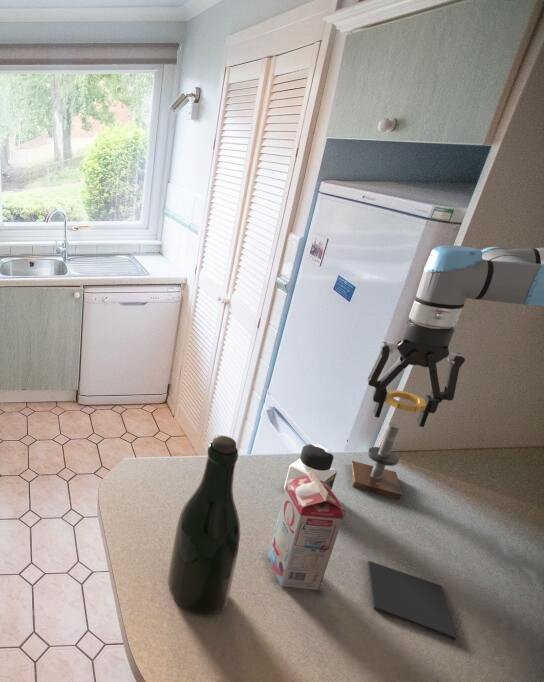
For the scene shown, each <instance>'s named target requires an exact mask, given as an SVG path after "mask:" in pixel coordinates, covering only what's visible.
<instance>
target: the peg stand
mask: <svg viewBox="0 0 544 682" xmlns="http://www.w3.org/2000/svg"><path fill="white" fill-rule="evenodd" d="M399 429H400V425H398V424H396V423H394V422H389V423H388V424H387V427H386V429H385V432H384V435H383V437H382V440H381V444H380V446H372V447H371V446H370V447H369V448H368V449H367V453H366V454H367V456H368V458H369V459H371V460H372V461H374V464H373V465H370V464H366V463H362V462H359V461H355V460H351V463H350V473H351V480H352V481H351V482H352V483H351V484H352V487H353V488H357V489H360V490H364V491H366V492H370V493H374V494H378V495H381V496H385V497H389V498H393V499H395V500H399V501H400V500H401V498H402V495H403V494H402V491H401V487H400V483H399V478H398V475H397V472H396V471H393V470H390V469H386V466H388V467H394V466H397V465H398V464H399V461H400V458H399V456H398V455H397V454H396V453H395V452H393V451H392V448H393V446H394V444H395V441H396V439H397V435H398V432H399Z"/></svg>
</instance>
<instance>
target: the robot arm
mask: <svg viewBox="0 0 544 682" xmlns="http://www.w3.org/2000/svg"><path fill="white" fill-rule="evenodd" d="M482 249H483V250H482ZM482 249H479V248H476V247H472V246H464V245H463V246H462V245H452V244H451V245H449V244H448V245H439V246H436V247H435V248H433V249H432V250H431V252H430V254H429V256H428V258H427V261H426V263H425V266H424V267H423V272H422V276H421V278H420V282H419V285H418V288H417V290H416V291H417V292H416V295H415V297H414V300H413V304H412V306H411V310H410V312H409V315H408V318H409V320H408V321H407V322H406V325H405V328H404V330H403V334H402V336H401V339H400V340H399V341H397V343H388V342H386V341H383V342H381V344H380V353H379V354H378V357H377V359H376V361H375V362H374V365H373V367H372V368H371V371H370V372H369V375H368V377H367V384H368V385H369V386H370V387H373V388H374V391H373V394H372V400H373V403H375V406H374V410H373V414H374V417H375V418H380V417H381V414H382V410H383V408H384V403H385V402H384V401H385V398H386V395H387V391H388V390H387V387H388V386H389V385H390V384H391V383H392V382H393V380H395V379H396V377H397V376H398V375H399V374H401V372H403V370H405V369H406V368H407V367H408V366H420V367H423V368H426V370H427V375H428V382H429V387H430V393H431V395H430V394H426V395H425V398H424V400H425V402H426V404H427V406H426V409H425V410H424V411H419V412H418V413H419V414H418V416H417V419H416V421H417V424H418V427H421V428H424V427H425V425H426V422H427V419H428V416H429V414H435V413H436V412H437V409H438V407H439V404H440V403H442V402H443V401H449V402H450V401H453V400H454V398H455V393H456V388H457V383H458V382H457V381H458V377H459V373H460V368H461V367H462V365H464V363H465V362H466V358H465V356H464V355H463V354H462V353H460V352H452V351H450V350H449V347H450V343H451V341H452V339H453V336H454V333H455V331H456V330H455V328H454V327H457V325H458V323H459V320H460V317H461V313H462V311H463V308H464V306H465V304H466V301H467V299H471V300H480V301H488V302H495V303H496V302H497V303H506V304H515V305H521V306H522V305H523V306H525V307H528V306H531V307H532V306H534V307H544V247H535V248H514V249H513V248H512V249H511V248H507V247H503V246H489V247H486V248H482ZM395 351H398V353H399V355H400V356H399V357H398V358H397V359H396V361H395V362H394V363H393V364H392V365H391V367H390V368H388V370H387V371H386V372H385V373H384V374H383V375H382V376H381V374H382V372H383V370H384V368H385V366H386V364H387V362H388V360H389V358H390V355H392V354H394V353H395ZM446 358H447V362H448V366H447V371H446V376H445V381H444V387H443V391H441V389H440V382H439V376H438V368H437V363H439V362H441V361H442V360H444V359H446ZM380 376H381V377H380Z"/></svg>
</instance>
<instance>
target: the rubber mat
mask: <svg viewBox="0 0 544 682" xmlns="http://www.w3.org/2000/svg"><path fill="white" fill-rule="evenodd" d="M367 569H368V576H369V584H370V585H369V586H370V592H371V601H372V609H373V610H374V611H378V612H379V613H383V614H386V615H388V616H391V617H393V618H396V619H399V620H401V621H404V622H407V623H409V624H412V625H415V626H418V627H420V628H422V629H425V630H428V631H431V632H434V633H436V634H439V635H441V636H444V637H447V638H450V639H451V640H456V639H457V635H456V632H455V628H454V625H453V621H452V618H451V614H450V611H449V608H448V604H447V600H446V597H445V594H444V590H443V587H442V584H438V583H436V582H433V581H429V580H426V579H424V578H421V577H418V576H414V575H411V574H409V573H406V572H403V571H400V570H398V569H394V568H392V567H388V566H386V565H382V564H379V563H376V562H373V561H370V560H367Z"/></svg>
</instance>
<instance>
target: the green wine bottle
mask: <svg viewBox="0 0 544 682" xmlns="http://www.w3.org/2000/svg"><path fill="white" fill-rule="evenodd" d="M206 453H207V454H206V455H207V457H206V461H205V466H204V470H203V474H202V477H201V480H200V481H199V484H198V485H197V487H196V489H195V490H194V491H193V492H192V494H191V495H190V497H189V498H188V499H187V500H186V502H185V503H184V505H183V507H182V508H181V511H180V513H179V516H178V520H177V525H176V528H175V533H174V539H173V545H172V551H171V556H170V561H169V568H168V574H167V588H168V590H169V593H170V594H171V596H172V599H174V601H175V602H176V603H177V604H178V606H180V607H181V608H182V609H184V610H186V611H188V613H189V612H190V613H192V614H195V615H197V616H202V617H204V616H205V617H210V616H215V615H217V614H219V613H221V612H222V611H223V610H224V609H225V608H226V607H227V605H228V602H229V600H230V599H229V598H230V595H231V590H232V586H233V580H234V574H235V570H236V565H237V560H238V555H239V554H238V553H239V550H240V549H239V548H240V539H241V521H240V518H239V513H238V510H237V509H238V508H237V506H236V502H235V498H234V476H235V469H236V464H237V462H238V458H239V451H238V448H237V442H236V441H235V439H234V438H232V437H230V436H228V435H215V437H213V440H212V441H211V442H210V443H209V445H208V447H207V451H206Z"/></svg>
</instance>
